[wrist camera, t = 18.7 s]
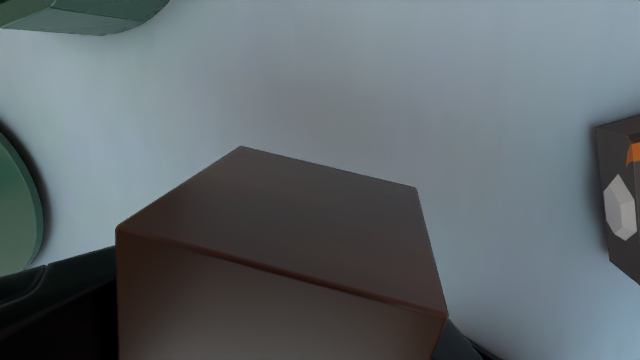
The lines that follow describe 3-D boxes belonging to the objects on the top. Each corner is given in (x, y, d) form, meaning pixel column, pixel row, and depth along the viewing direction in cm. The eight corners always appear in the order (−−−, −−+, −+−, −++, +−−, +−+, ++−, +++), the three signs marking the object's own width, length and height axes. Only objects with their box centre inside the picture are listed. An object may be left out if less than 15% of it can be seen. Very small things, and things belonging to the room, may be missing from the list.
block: (417, 187, 8) (452, 316, 4) (371, 329, 10) (364, 524, 6) (240, 144, 9) (112, 226, 5) (223, 288, 10) (118, 443, 6)
